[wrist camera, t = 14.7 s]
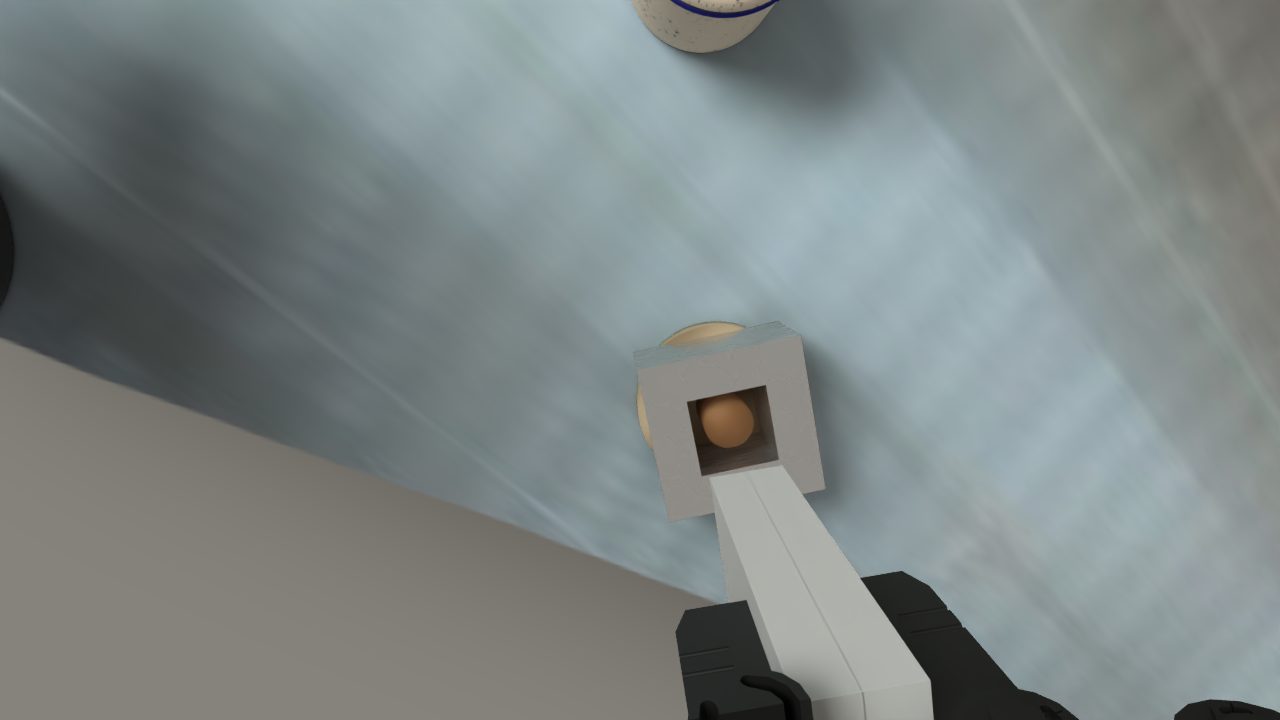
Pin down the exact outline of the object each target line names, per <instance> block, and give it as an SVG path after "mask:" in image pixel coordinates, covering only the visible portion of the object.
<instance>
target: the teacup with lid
mask: <svg viewBox="0 0 1280 720" xmlns="http://www.w3.org/2000/svg"><path fill="white" fill-rule="evenodd" d="M631 1H632V3H633V5H634V8H635V10H636V12H637V13H638V15H639V17H640V18H641V20H642V21H643V23H644V24H645V25H646V26H647V28H648V29H649V30H650V31H651V32H652V33H653V34H654V35H656V36H657V37H658V38H659V39H661V40H662V41H664V42H665V43H667V44H669V45H671V46H673V47H675V48H678V49H681V50H684V51H689V52H696V53H708V52H715V51H719V50H723V49H726V48H728V47H731V46H733V45H735V44H737V43H738V42H740V41H742V40H743V39H744V38H746V37H747V36H748V35H749V34H751V33H752V32H753V31H754V30H755V29H756V28H757V26H758V25H759V24H760V23H761V22H762V20H763V19H764V18H765V16H766V15H767V14H768V13H769V11H770V10H771V9H772V7H773V6H774V5H775V4H776V2H777V1H779V0H631Z"/></svg>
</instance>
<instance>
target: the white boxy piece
mask: <svg viewBox="0 0 1280 720" xmlns="http://www.w3.org/2000/svg"><path fill="white" fill-rule="evenodd" d="M633 353H634V359H635V365H636V370H637V375H638V380H639V384H640V389H641V394H642V398H643V403H644V408H645V412H646V417H647V421H648V426H649V431H650V435H651V440H652V445H653V449H654V454H655V459H656V463H657V468H658V472H659V477H660V482H661V486H662V491H663V496H664V500H665V505H666V510H667V514H668V519H669V522H674V521H679V520H683V519H688V518H693V517H697V516H702V515H707V514H712V513H715V511H714V505H713V498H712V491H711V485H710V478H711V477H717V476H723V475H729V474H734V473H740V472H746V471H752V470H758V469H764V468H770V467H776V466H783V467H784V469H785V470H786V471H787V473H788V474H789V476H790V477H791V479H792V480H793V482H794V483H795V485H796V486H797V487H798V489H799V490H800V492H801V493H802V494H805V493H810V492H815V491H819V490H824V489H826V488H825V482H824V476H823V470H822V464H821V457H820V451H819V445H818V439H817V433H816V426H815V420H814V414H813V408H812V401H811V395H810V389H809V383H808V377H807V370H806V364H805V358H804V352H803V346H802V339H801V335H800V334H798V333H797V332H795V331H793V330H792V329H790V328H789V327H787V326H785V325H784V324H782V323H781V322H779V321H777V322H772V323H767V324H763V325H758V326H753V327H749V328H744V329H739V330H735V331H730V332H725V333H720V334H716V335H711V336H706V337H702V338H697V339H692V340H688V341H683V342H678V343H674V344H669V345H664V346H660V347H655V348H650V349H646V350H641V351H636V352H633ZM749 388H752V391H753V397H754V402H755V408H756V413H757V419H758V425H759V430H760V432H758V433H753V434H751V435H750V437H749V438H748V439H747V440H746V441H745V442H744V443H742V444H741V445H739V446H736V447H731V448H725V447H721V446H718V445H716V444H714V443H713V442H711V443H707V444H702V445H697V446H695V441H694V436H693V431H692V426H691V421H690V416H689V411H688V406H687V402H688V401H693V400H697V399H702V398H707V397H711V396H716V395H721V394H726V393H730V392H735V391H740V390H744V389H749Z"/></svg>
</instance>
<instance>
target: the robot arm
mask: <svg viewBox="0 0 1280 720" xmlns="http://www.w3.org/2000/svg"><path fill="white" fill-rule="evenodd" d="M12 259H13V249H12V237H11V231H10V226H9V222H8V218H7V214H6V211H5V208H4V206H3V203H2V201H1V198H0V304H1V302H2V300H3V298H4V296H5V293H6V291H7V288H8V284H9V281H10V276H11V270H12ZM710 485H711V491H712V498H713V505H714V511H715V518H716V525H717V531H718V538H719V545H720V551H721V558H722V565H723V571H724V578H725V585H726V591H727V598H728V601H729V603H725V604H720V605H714V606H708V607H702V608H696V609H690V610H685V612H684V614H683V617H682V619H681V621H680V623H679V625H678V628H677V630H676V638H677V644H678V650H679V656H680V663H681V670H682V676H683V683H684V688H685V695H686V701H687V708H688V714H689V715H688V720H1079V719H1078V718H1076V717H1075V716H1074V715H1073V714H1071V713H1070V712H1069V711H1068V710H1066V709H1065V708H1064V707H1063V706H1061V705H1060V704H1059V703H1057V702H1055V701H1052V700H1050V699H1048V698H1046V697H1044V696H1041V695H1039V694H1037V693H1035V692H1030V691H1025V690H1020V689H1018V688H1017V687H1016V686H1015V685H1014V684H1013V683H1012V681H1011V680H1010V679H1009V678H1008V677H1007V676H1006V674H1005V673H1004V672H1003V671H1002V670H1001V669H1000V667H999V666H998V665H997V664H996V663H995V662H994V661H993V659H992V658H991V657H990V656H989V655H988V654H987V652H986V651H985V650H984V649H983V648H982V647H981V645H980V644H979V643H978V642H977V641H976V640H975V638H974V637H973V636H972V635H971V634H970V633H969V631H968V630H967V629H966V628H965V627H964V628H963V627H962V625H961V622H960V621H959V620H958V619H957V618H956V616H955V615H954V614H953V613H952V612H951V611H950V610H948V609H947V606H946V605H945V604H944V602H943V601H942V600H941V599H940V598H939V597H938V596H937V594H936V593H935V592H934V591H933V590H932V589H931V587H930V586H928V585H927V584H925V583H923V582H921V581H919V580H917V579H916V578H914V577H912V576H910V575H908V574H906V573H905V572H903V571H899V572H893V573H887V574H881V575H875V576H869V577H864V578H860V577H859V576H858V575H857V573H856V572H855V570H854V569H853V567H852V566H851V564H850V563H849V561H848V560H847V559H846V557H845V556H844V554H843V553H842V551H841V550H840V548H839V547H838V546H837V544H836V543H835V541H834V540H833V538H832V537H831V535H830V534H829V532H828V531H827V530H826V528H825V527H824V525H823V524H822V522H821V521H820V519H819V518H818V516H817V515H816V514H815V512H814V511H813V509H812V508H811V506H810V505H809V503H808V502H807V501H806V499H805V498H804V496H803V495H802V493H801V492H800V490H799V489H798V487H797V486H796V485H795V483H794V482H793V480H792V479H791V477H790V476H789V474H788V473H787V471H786V470H785V469H784V467H783V466H776V467H770V468H764V469H758V470H752V471H746V472H740V473H734V474H729V475H723V476H717V477H711V478H710ZM1174 720H1280V713H1279V712H1276V711H1274V710H1271V709H1267V708H1264V707H1260V706H1256V705H1252V704H1248V703H1244V702H1240V701H1227V700H1211V699H1210V700H1206V701H1201V702H1196V703H1191V704H1188V705H1186V706H1185V707H1184V708H1183V709H1182V710H1180V711H1179V712H1178V713H1177V714H1175V717H1174Z"/></svg>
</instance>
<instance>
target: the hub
mask: <svg viewBox="0 0 1280 720" xmlns="http://www.w3.org/2000/svg"><path fill="white" fill-rule="evenodd" d="M744 328H747V327H745V326H741V325H738V324H735V323H729V322H715V321H714V322H704V323H700V324H695V325H692V326H689V327H687V328H684V329H682V330H680V331H678V332H676V333H674V334H673V335H672V336H670V337H669V338H667V339H666V340H665V341H664V342H663V343H662V344H661V345H659V346H658V347H660V346H664V345H669V344H674V343H678V342H683V341H688V340H692V339H697V338H702V337H706V336H711V335H716V334H720V333H725V332H730V331H735V330H739V329H744ZM687 406H688V411H689V416H690V421H691V426H692V431H693V436H694V441H695V446H697V445H702V444H707V443H711V442H713V443H714V444H716V445H718V446H721V447H725V448H731V447H736V446H739V445H741V444H742V443H744V442H745V441H746V440H747V439H748V438H749V437H750V435H751V434H753V433H758V432H760V430H759V425H758V419H757V413H756V408H755V402H754V397H753V391H752V388H749V389H744V390H740V391H735V392H730V393H726V394H721V395H716V396H711V397H707V398H702V399H697V400H693V401H688V402H687ZM637 408H638V416H639V421H640V425H641V429H642V432H643V434H644V437H645V439H646V440H647V442H648V444H649V446H650V447H651V449H652V450H653V451H654V449H653V445H652V440H651V435H650V431H649V426H648V421H647V417H646V412H645V408H644V403H643V398H642V394H641V389H640V384H638V390H637Z"/></svg>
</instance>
